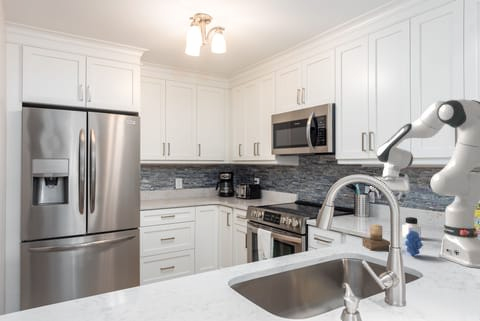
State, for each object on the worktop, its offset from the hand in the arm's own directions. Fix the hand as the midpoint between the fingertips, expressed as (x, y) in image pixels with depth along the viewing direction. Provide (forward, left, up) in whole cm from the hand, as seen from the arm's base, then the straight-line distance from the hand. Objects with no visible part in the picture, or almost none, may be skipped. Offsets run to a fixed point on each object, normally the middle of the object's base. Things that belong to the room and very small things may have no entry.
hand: (388, 198), depth 172 cm
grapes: (-28, +2, -24) cm, 37 cm away
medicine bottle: (+9, -18, -24) cm, 31 cm away
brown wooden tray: (-13, +13, -23) cm, 30 cm away
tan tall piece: (-13, +13, -23) cm, 30 cm away
